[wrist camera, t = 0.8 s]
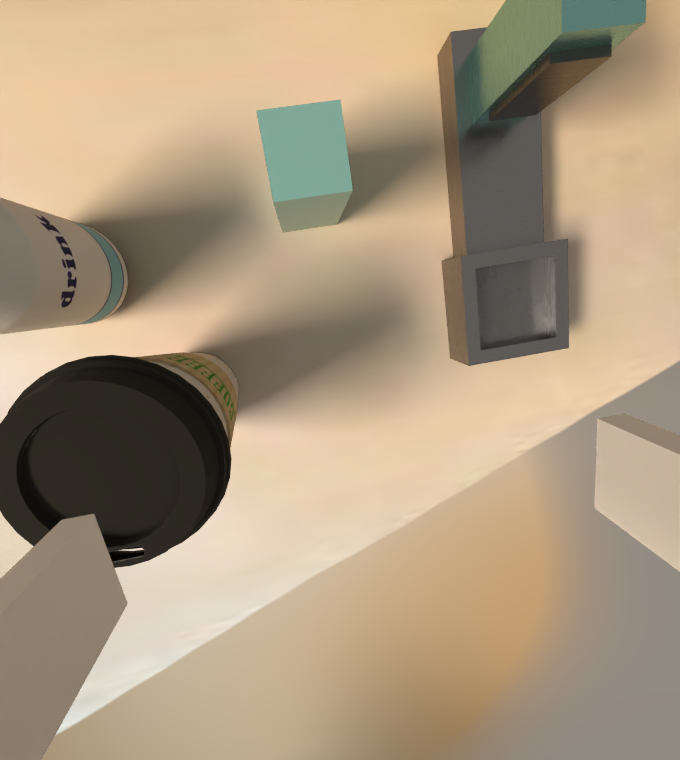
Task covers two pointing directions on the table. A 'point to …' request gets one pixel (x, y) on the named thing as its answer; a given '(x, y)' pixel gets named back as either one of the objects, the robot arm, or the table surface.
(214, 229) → the table surface
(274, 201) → the block
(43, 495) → the coffee cup
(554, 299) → the grey and teal stand
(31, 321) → the beverage can
